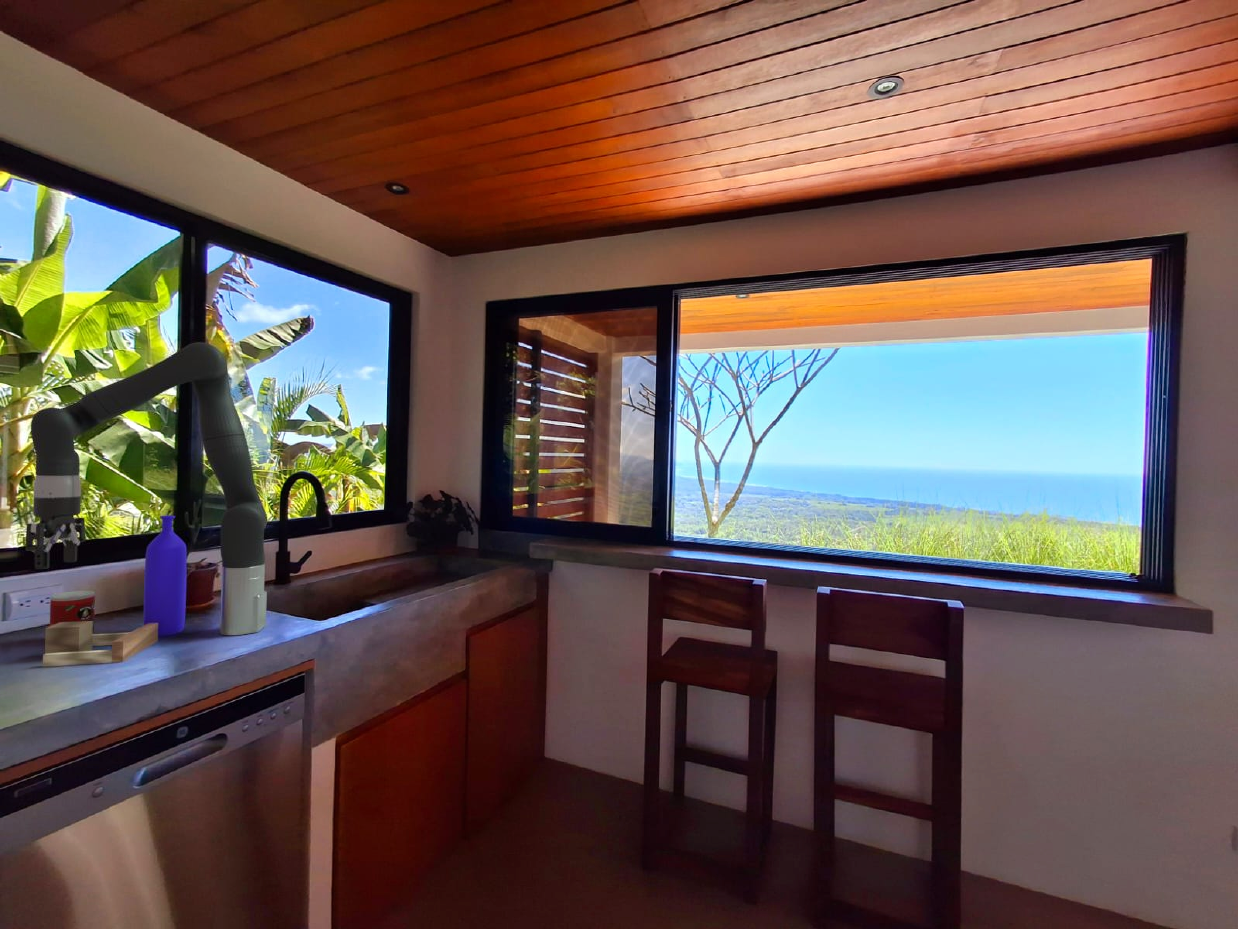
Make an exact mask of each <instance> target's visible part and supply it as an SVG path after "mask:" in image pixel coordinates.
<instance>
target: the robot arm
mask: <svg viewBox="0 0 1238 929" xmlns="http://www.w3.org/2000/svg"><path fill="white" fill-rule="evenodd" d="M228 370H229V369H228V363H227V359H226V358H225V356H224V355H223V353H222V352H221V351H220V350H219V349H218V348H217V347H216V346H214V345H212V344H209V343H207V342H200V341H199V342H192V343H190V344H188V345H186V346H184V347H182V348H181V349H179V350H177V351H176V352H174V353H172V354H171V355H170V356H168V357H166V358H164V359H163V360H161V361H159V362H157V363H155V364H154V365H152V366H149V367H147V368H146V369H144V370H141V371H138V372H137V373H134V374H132V375H129V376H127V377H125V378H122V379H119V380H117V381H115V382H112V383H110V384H108V385H105V386H103V387H99V388H98V389H95V390H93V391H91V392H89V393H86V394H84V395H83V396H82V397H81V398H80V400H77V401H76V402H74V403H71V404H69V405H67V406H64V407H61V408H58V407H46V408H43V409H40V410H38V411H37V412H36V413H35V414H34V415H33V416H32V419H31V422H30V434H31V439H32V444H33V448H34V451H35V455H36V458H35V476H34V477H35V478H34V482H33V516H35V517H38V518H39V522H36V523H33V522H31V523H27V524H26V531H25V532H26V533H25V534H26V535H25V551H27V552H29V551H30V552H33V553H34V569H36V570H46V569H49V568H50V559H51V558H50V557H51V556H50V554H51V553H50V550H51V548H52V546H53V545H54V544H56V543H57V542H58V540H59V541H60V542H62V543H63V545H64V546H63V563H74V562H75V563H76V562H77V561H78V546H80V545H81V543H83V542H85V541H86V524H85V523H86V521H85V520H86V519H85V517H83V516H82V517H80V516H79V515H80V514H81V507H82V506H81V505H82V504H81V503H82V502H81V501H82V500H81V499H82V493H81V492H82V486H81V485H82V484H81V479H80V471H81V470H80V465H81V462H80V461H81V460H80V456H79V454H78V452H77V450H75V437H79V436H82V435H83V434H85V433H87V432H89V431H91V430H93V429H94V428H96V427H98V426H99V425H101V424H103V423H104V422H107V421H110V420H112V419H114V418H117V417H120V416H121V415H123V414H126V413H128V412H131V411H133V410H135V409H137V408H139V407H141V406H142V405H144V404H146V403H148V402H150V401H151V400H153V399H154V398H155V397H157V396H159V395H160V394H163V393H164V392H166V391H168V390H170V389H172V388H173V389H174V388H175V387H177V386H180V385H183V384H186V383H189V382H190V383H191V384H192V387H193V389H194V392H195V396H196V399H197V403H198V413H199V414H198V418H199V419H198V420H199V422H198V423H199V430H200V438H201V441H202V445H203V450H204V452H205V453H204V454H205V456H206V459H207V462H208V464H209V466H210V468H211V470H212V472H213V474H214V475H215V477H216V479H217V481H218V482H219V485H220V486H221V489H222V490H221V491H222V492H223V496H224V501H225V502H224V503H225V507H226V508H225V510H226V512H225V513H224V514H223V516H222V518H221V522H220V557H221V587H220V588H221V593H220V594H221V596H220V624H219V625H220V632H219V633H220V635H224V636H240V635H247V634H252V633H259V632H260V631H261V630H262V629H263V628H265V627H266V626H267V625H266V624H267V601H268V600H267V598H268V597H267V596H268V595H267V594H268V592H267V591H266V590H265V568H266V566H265V565H266V564H265V563H266V553H265V549H264V547H265V546H264V542H265V540H264V539H265V538H264V537H265V536H264V535H265V529H266V526H267V524H268V515H267V511H266V510H265V507H264V505H263V502H262V500H261V497H260V495H259V492H258V490H257V487H256V482H255V477H254V473H253V465H252V459H251V455H250V454H251V453H250V449H249V445H248V441H247V438H246V437H247V436H246V434H245V430H244V426H243V424H242V421H241V419H240V416H239V414H238V410H237V409H236V406H235V403H234V400H233V397H232V392H231V387H230V380H229V371H228ZM75 516H77V517H75ZM78 516H79V517H78ZM34 542H35V543H34ZM33 543H34V544H33ZM44 544H45V545H44Z"/></svg>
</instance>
